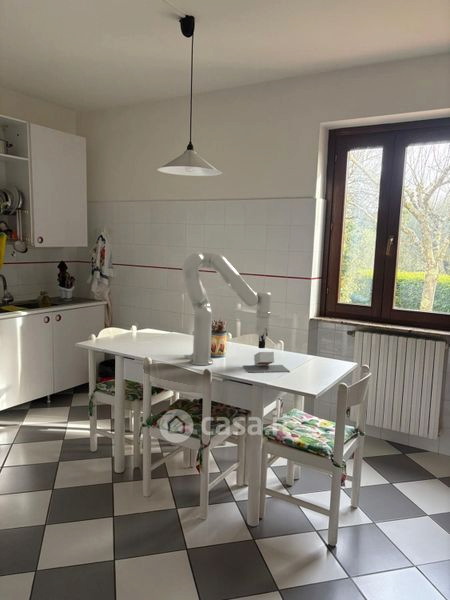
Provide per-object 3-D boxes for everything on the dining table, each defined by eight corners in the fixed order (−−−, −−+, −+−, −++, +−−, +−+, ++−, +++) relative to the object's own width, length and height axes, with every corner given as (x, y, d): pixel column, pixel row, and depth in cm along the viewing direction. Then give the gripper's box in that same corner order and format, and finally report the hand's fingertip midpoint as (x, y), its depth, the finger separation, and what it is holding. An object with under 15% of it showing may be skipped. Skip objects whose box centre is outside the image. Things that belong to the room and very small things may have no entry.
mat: (248, 372, 227) (248, 371, 227) (242, 366, 239) (242, 365, 239) (289, 372, 232) (289, 371, 232) (282, 365, 243) (282, 364, 243)
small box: (254, 365, 242) (259, 362, 232) (253, 354, 244) (259, 351, 234) (268, 365, 244) (274, 362, 234) (267, 354, 245) (273, 351, 236)
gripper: (252, 312, 248) (251, 345, 250) (260, 317, 233) (258, 351, 235) (265, 312, 249) (264, 344, 252) (274, 317, 235) (272, 351, 237)
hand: (261, 347), depth 243 cm, fingers closed
